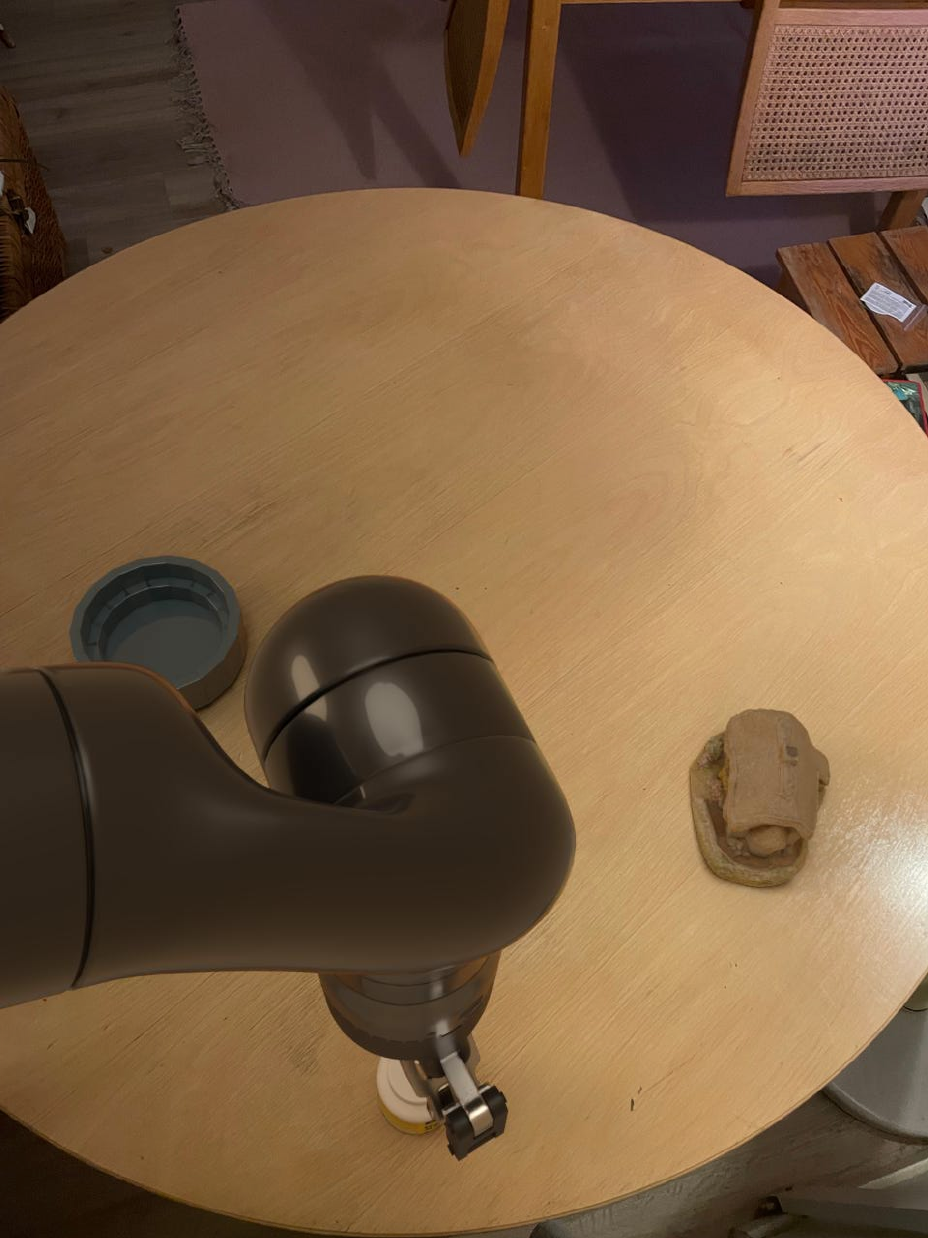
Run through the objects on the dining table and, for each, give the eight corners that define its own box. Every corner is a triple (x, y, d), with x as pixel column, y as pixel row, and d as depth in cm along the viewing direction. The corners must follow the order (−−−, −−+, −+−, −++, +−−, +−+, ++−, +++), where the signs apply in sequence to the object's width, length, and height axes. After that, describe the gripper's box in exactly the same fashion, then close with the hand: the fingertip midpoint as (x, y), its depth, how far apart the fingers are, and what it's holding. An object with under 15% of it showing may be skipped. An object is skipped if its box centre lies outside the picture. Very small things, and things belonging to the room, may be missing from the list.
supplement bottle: (429, 1154, 70) (431, 1134, 62) (363, 1107, 71) (356, 1082, 63) (471, 1080, 73) (478, 1052, 64) (406, 1037, 74) (405, 1004, 66)
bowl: (101, 744, 86) (85, 716, 81) (74, 611, 93) (58, 578, 88) (264, 696, 89) (257, 667, 84) (226, 571, 96) (218, 537, 91)
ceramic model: (691, 719, 89) (720, 659, 81) (822, 742, 88) (865, 683, 80) (682, 876, 81) (713, 828, 73) (825, 902, 81) (873, 856, 72)
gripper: (250, 836, 44) (289, 945, 57) (407, 1166, 37) (410, 1201, 51) (407, 759, 46) (409, 881, 60) (581, 1058, 40) (539, 1119, 53)
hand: (409, 1028), depth 55 cm, fingers open, 8 cm apart
